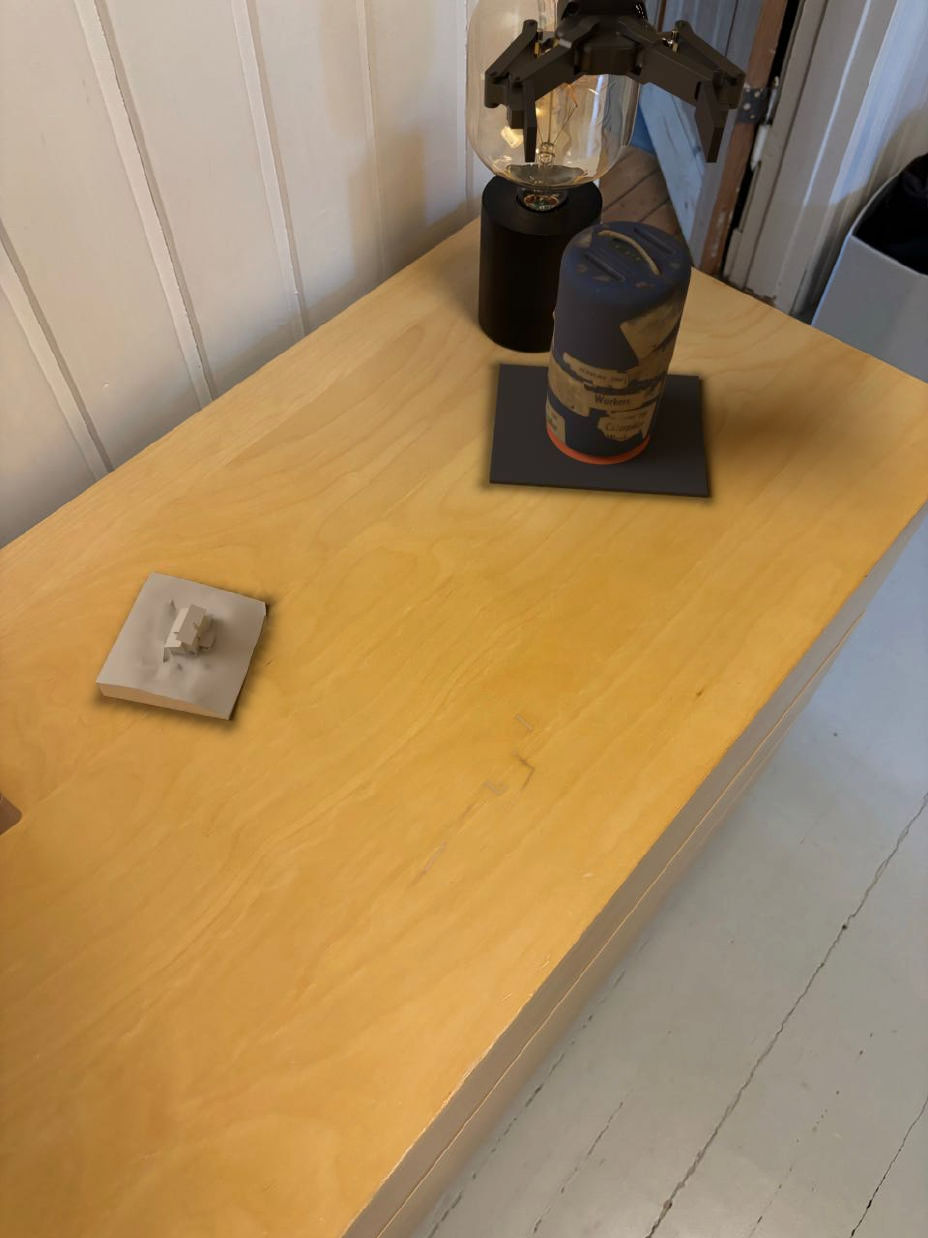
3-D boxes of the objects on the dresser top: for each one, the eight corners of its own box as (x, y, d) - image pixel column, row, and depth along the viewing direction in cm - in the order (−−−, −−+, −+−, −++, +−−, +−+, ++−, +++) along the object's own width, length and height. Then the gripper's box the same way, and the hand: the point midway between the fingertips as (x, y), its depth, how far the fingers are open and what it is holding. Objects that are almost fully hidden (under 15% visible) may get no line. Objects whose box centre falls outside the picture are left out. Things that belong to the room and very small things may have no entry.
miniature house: (259, 718, 66) (249, 693, 63) (98, 726, 65) (80, 700, 62) (269, 579, 72) (260, 549, 69) (122, 585, 72) (107, 555, 69)
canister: (574, 479, 77) (603, 298, 62) (524, 404, 82) (539, 219, 67) (674, 444, 80) (725, 262, 65) (619, 373, 84) (655, 187, 69)
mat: (697, 379, 85) (699, 375, 84) (706, 497, 77) (708, 493, 77) (499, 366, 85) (499, 362, 85) (489, 483, 78) (489, 479, 77)
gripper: (732, 53, 84) (777, 192, 72) (454, 53, 84) (454, 192, 72) (755, -42, 78) (807, 93, 66) (454, -43, 77) (454, 92, 66)
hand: (623, 145), depth 69 cm, fingers open, 13 cm apart
